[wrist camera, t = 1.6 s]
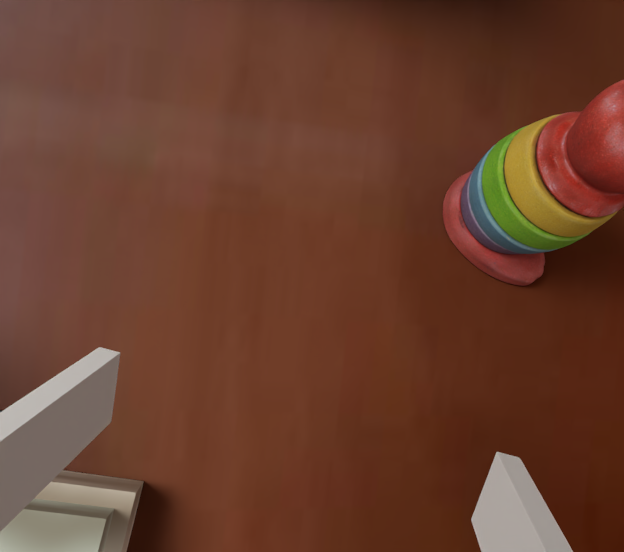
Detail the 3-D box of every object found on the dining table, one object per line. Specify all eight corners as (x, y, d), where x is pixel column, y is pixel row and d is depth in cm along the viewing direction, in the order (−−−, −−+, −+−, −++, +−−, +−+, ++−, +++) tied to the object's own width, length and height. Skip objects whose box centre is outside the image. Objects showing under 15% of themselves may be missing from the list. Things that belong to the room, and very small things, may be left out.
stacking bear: (534, 292, 39) (778, 229, 22) (429, 261, 38) (605, 168, 21) (545, 183, 42) (770, 53, 25) (448, 150, 40) (616, -12, 23)
